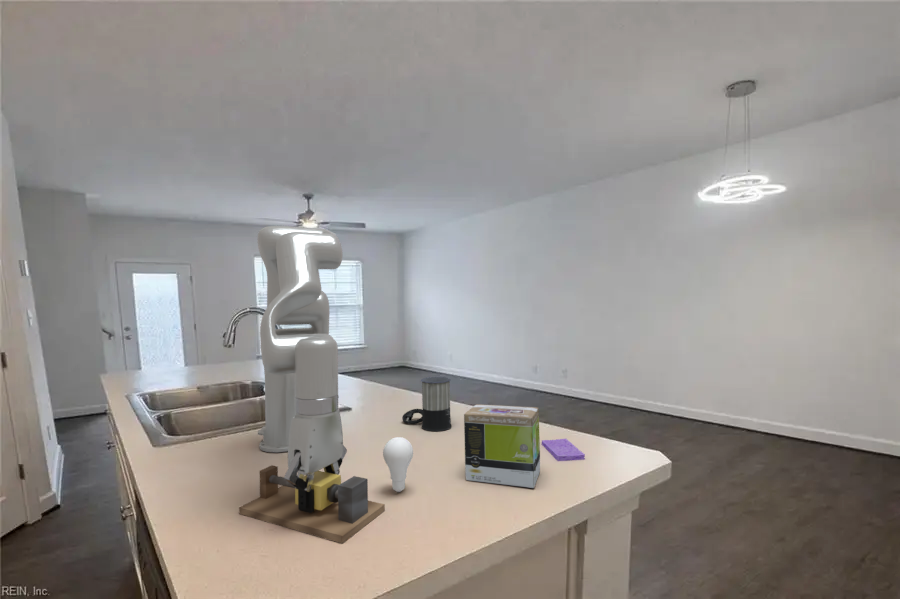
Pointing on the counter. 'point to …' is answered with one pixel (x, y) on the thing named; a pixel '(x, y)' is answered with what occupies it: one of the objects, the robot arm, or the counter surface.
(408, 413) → the milk frother
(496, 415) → the tea box
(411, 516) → the counter surface
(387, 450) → the lightbulb
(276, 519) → the cable rail
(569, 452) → the sponges
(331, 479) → the sleeve
